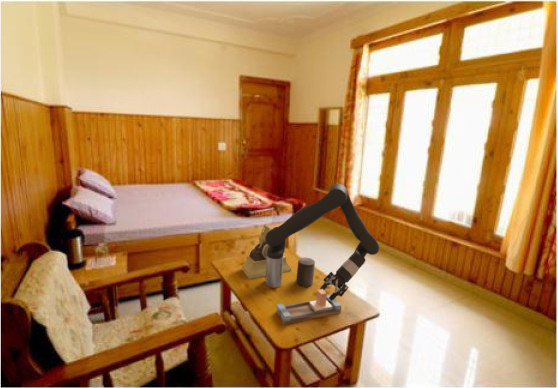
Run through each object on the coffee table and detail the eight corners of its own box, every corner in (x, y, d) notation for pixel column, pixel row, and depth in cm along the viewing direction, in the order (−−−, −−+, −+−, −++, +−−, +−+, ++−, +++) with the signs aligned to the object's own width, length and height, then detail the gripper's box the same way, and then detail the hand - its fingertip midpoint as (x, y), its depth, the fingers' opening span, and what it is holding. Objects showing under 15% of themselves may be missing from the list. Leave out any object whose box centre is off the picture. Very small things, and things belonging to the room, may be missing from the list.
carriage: (309, 304, 147) (310, 289, 145) (324, 301, 150) (326, 286, 148) (316, 312, 140) (317, 296, 139) (332, 309, 144) (333, 293, 142)
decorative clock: (249, 279, 172) (251, 230, 165) (241, 269, 183) (243, 223, 176) (291, 270, 184) (294, 225, 178) (281, 262, 195) (284, 219, 189)
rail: (276, 311, 142) (276, 304, 141) (329, 301, 153) (330, 294, 152) (284, 324, 133) (284, 316, 132) (340, 312, 144) (341, 305, 143)
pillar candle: (298, 287, 165) (300, 262, 162) (294, 278, 174) (296, 255, 171) (315, 286, 167) (317, 262, 164) (310, 278, 176) (312, 254, 173)
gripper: (335, 260, 151) (314, 283, 150) (352, 273, 138) (328, 298, 137) (343, 268, 154) (322, 291, 153) (360, 281, 142) (337, 306, 140)
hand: (325, 294), depth 145 cm, fingers open, 8 cm apart
